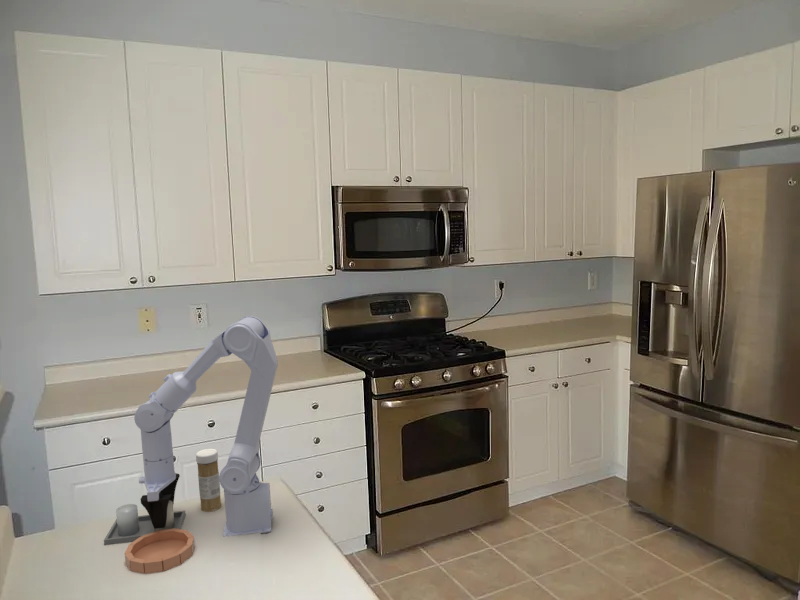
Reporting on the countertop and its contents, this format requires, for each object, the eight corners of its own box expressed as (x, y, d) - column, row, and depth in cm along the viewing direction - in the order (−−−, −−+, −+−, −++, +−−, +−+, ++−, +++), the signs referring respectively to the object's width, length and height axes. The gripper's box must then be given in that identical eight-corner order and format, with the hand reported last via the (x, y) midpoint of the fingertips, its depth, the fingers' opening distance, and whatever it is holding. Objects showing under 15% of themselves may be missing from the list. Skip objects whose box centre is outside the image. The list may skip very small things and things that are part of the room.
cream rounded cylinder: (176, 521, 126) (174, 499, 125) (172, 530, 122) (170, 507, 121) (156, 523, 125) (154, 501, 125) (152, 533, 121) (150, 510, 121)
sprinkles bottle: (216, 502, 135) (212, 446, 133) (225, 509, 132) (220, 451, 130) (197, 509, 132) (192, 451, 131) (204, 516, 129) (200, 457, 127)
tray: (185, 517, 129) (185, 510, 128) (178, 538, 120) (177, 531, 120) (117, 525, 126) (116, 518, 126) (104, 547, 117) (103, 540, 117)
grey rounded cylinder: (141, 525, 125) (139, 503, 124) (136, 535, 121) (134, 512, 120) (121, 527, 124) (119, 505, 123) (115, 537, 120) (113, 514, 119)
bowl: (198, 537, 120) (197, 525, 120) (188, 570, 108) (187, 557, 108) (135, 544, 118) (134, 532, 118) (119, 579, 106) (117, 566, 106)
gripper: (146, 445, 128) (151, 504, 130) (128, 472, 114) (134, 538, 115) (180, 442, 129) (184, 501, 131) (166, 468, 115) (172, 534, 117)
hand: (163, 518), depth 123 cm, fingers open, 7 cm apart
